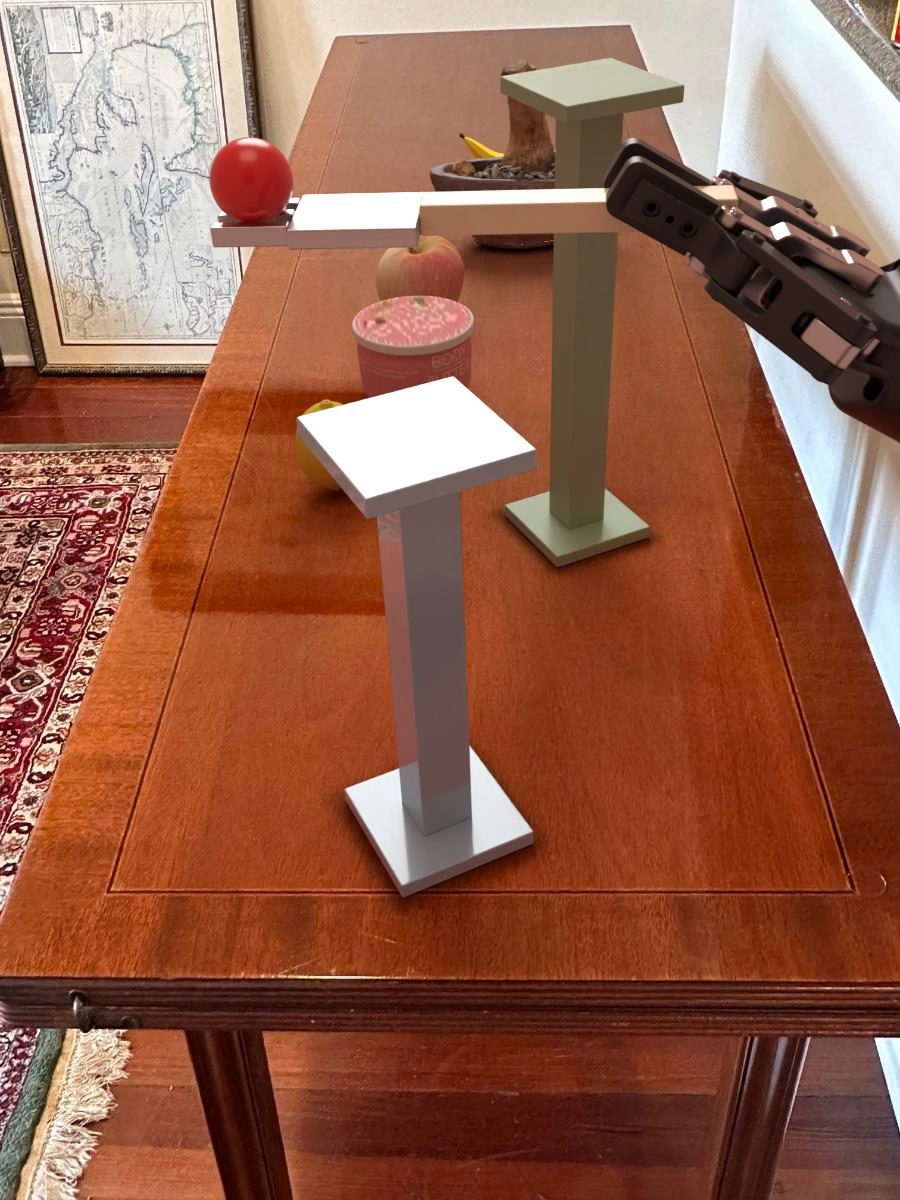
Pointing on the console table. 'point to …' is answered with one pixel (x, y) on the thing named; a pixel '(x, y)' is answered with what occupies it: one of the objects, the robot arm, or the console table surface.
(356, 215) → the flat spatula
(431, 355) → the container
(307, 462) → the lemon
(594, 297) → the tall stand
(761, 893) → the console table surface
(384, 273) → the apple
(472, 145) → the banana
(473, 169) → the planter
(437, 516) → the low stand
